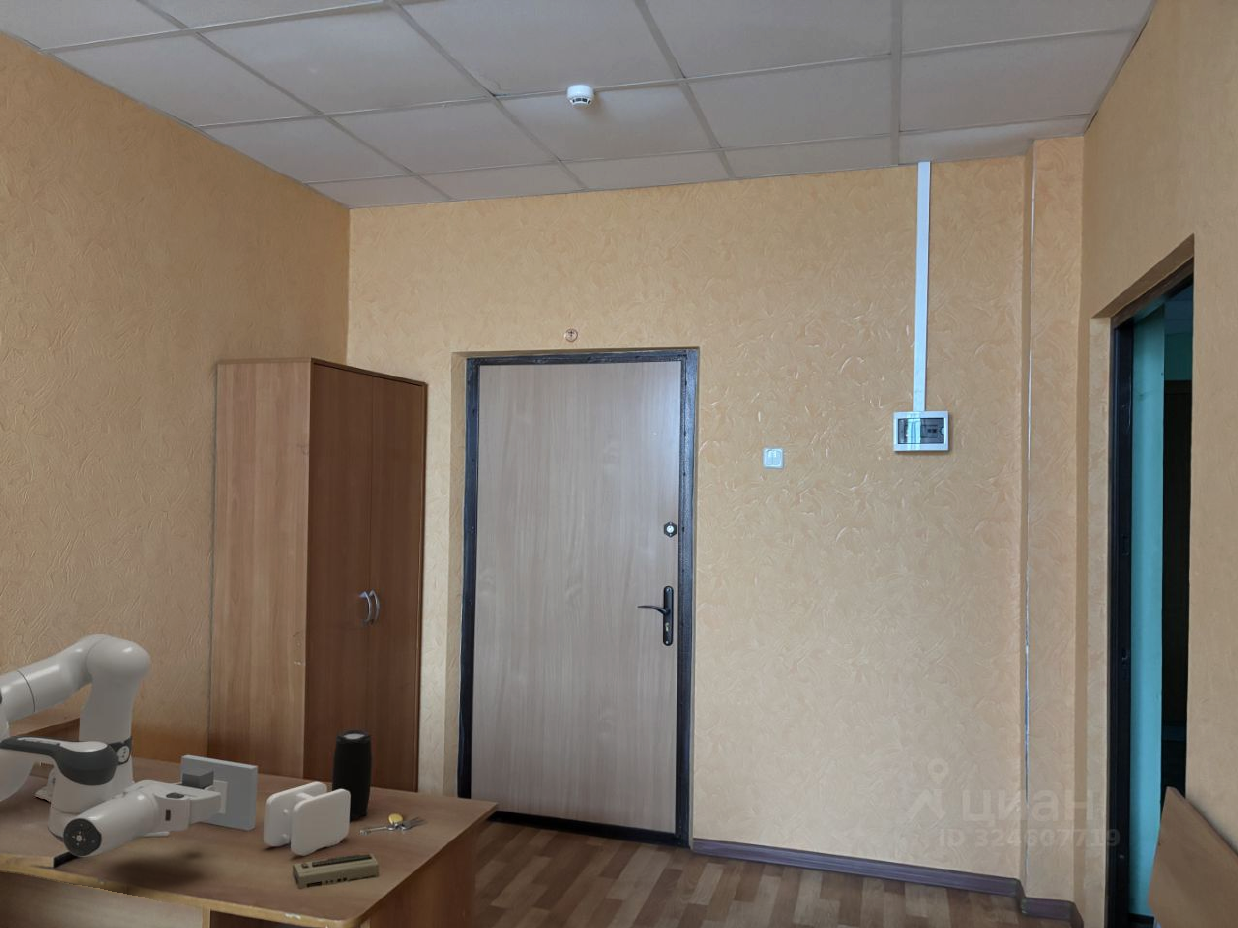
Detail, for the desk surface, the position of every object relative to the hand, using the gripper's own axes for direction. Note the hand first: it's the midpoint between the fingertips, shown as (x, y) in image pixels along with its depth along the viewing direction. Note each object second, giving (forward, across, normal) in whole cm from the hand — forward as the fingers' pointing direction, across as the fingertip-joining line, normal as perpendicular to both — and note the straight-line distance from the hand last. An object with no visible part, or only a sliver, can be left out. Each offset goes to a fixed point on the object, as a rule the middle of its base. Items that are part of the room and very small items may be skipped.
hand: (200, 786), depth 190 cm
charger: (-1, 0, -6) cm, 6 cm away
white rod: (+3, -16, -14) cm, 22 cm away
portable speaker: (+31, +17, -14) cm, 38 cm away
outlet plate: (+15, -8, -14) cm, 22 cm away
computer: (+3, +32, -14) cm, 36 cm away
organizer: (+13, +18, -14) cm, 26 cm away
